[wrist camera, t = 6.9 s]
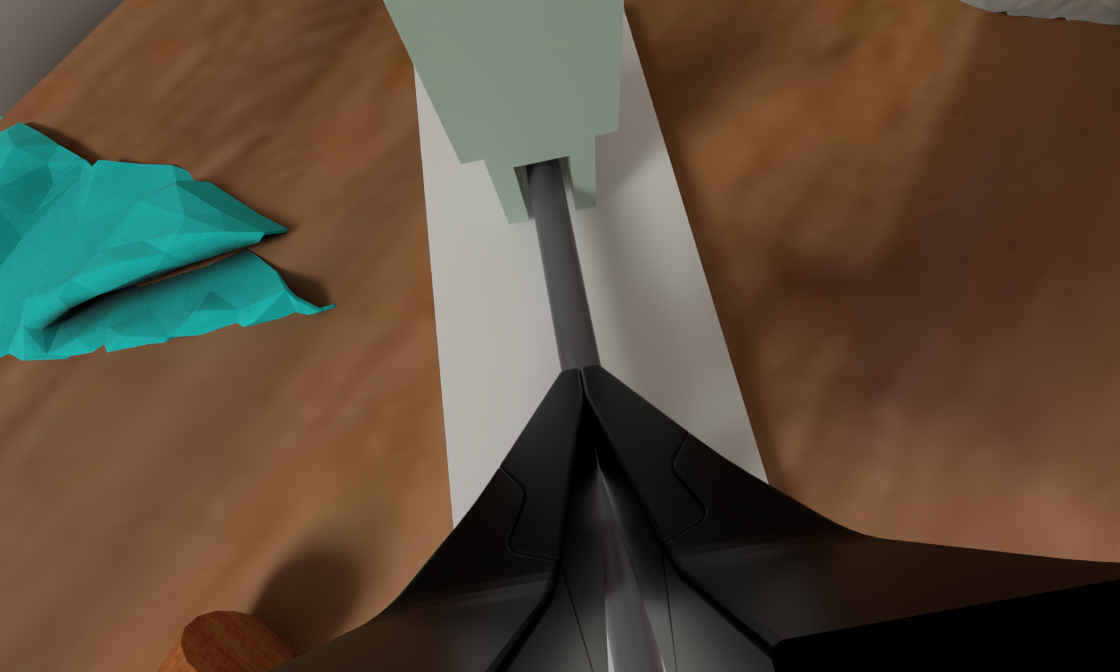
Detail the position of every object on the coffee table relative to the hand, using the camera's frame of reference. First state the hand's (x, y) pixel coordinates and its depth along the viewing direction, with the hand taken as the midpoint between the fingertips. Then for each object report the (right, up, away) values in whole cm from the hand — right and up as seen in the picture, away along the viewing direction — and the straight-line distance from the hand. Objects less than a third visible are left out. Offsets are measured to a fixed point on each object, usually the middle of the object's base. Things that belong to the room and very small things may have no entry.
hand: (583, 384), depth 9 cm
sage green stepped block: (-1, +8, +7) cm, 11 cm away
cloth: (-23, +6, +11) cm, 26 cm away
